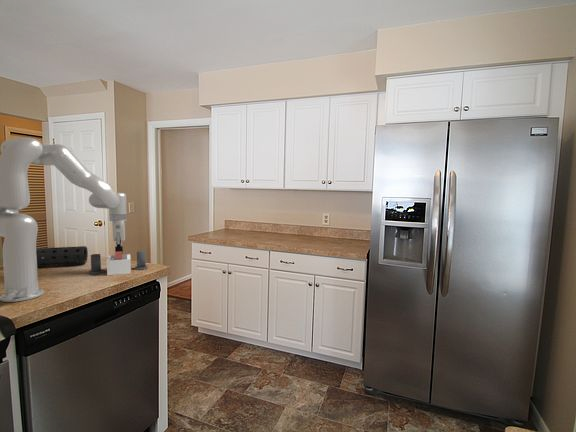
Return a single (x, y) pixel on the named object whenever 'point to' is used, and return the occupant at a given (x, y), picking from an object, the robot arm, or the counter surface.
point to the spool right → (141, 261)
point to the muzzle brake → (61, 256)
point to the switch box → (118, 265)
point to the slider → (118, 255)
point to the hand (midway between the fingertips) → (119, 254)
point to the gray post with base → (95, 264)
